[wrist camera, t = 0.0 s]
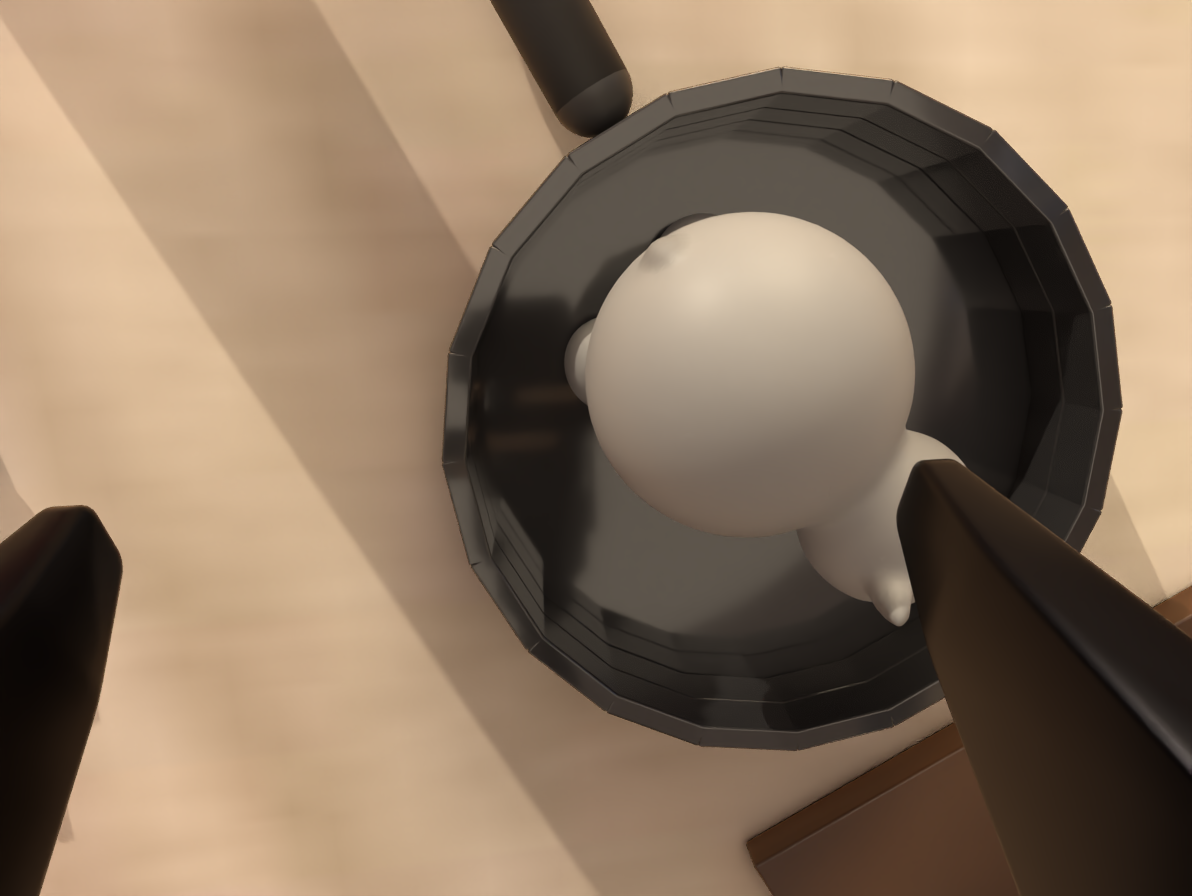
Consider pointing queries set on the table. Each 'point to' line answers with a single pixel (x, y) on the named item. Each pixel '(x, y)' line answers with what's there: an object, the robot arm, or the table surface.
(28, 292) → the table surface
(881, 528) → the toy rhinoceros
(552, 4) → the pan handle
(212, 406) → the table surface
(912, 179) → the pan
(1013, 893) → the cutting board
